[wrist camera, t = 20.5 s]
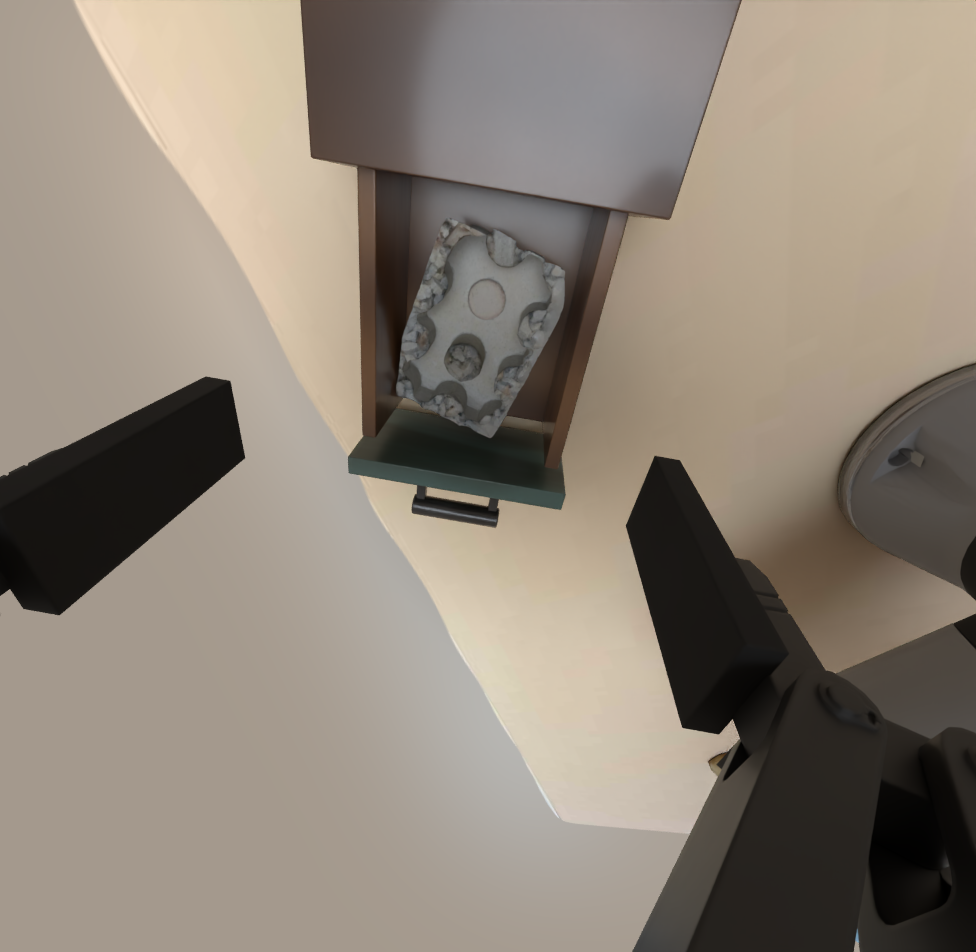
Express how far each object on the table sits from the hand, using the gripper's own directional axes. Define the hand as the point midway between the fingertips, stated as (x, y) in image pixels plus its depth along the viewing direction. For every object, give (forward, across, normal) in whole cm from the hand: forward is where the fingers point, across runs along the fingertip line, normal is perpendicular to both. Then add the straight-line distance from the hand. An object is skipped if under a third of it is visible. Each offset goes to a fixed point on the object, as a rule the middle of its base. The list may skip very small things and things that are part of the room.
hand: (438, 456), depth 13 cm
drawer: (+17, 0, +1) cm, 17 cm away
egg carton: (+16, 0, 0) cm, 16 cm away
